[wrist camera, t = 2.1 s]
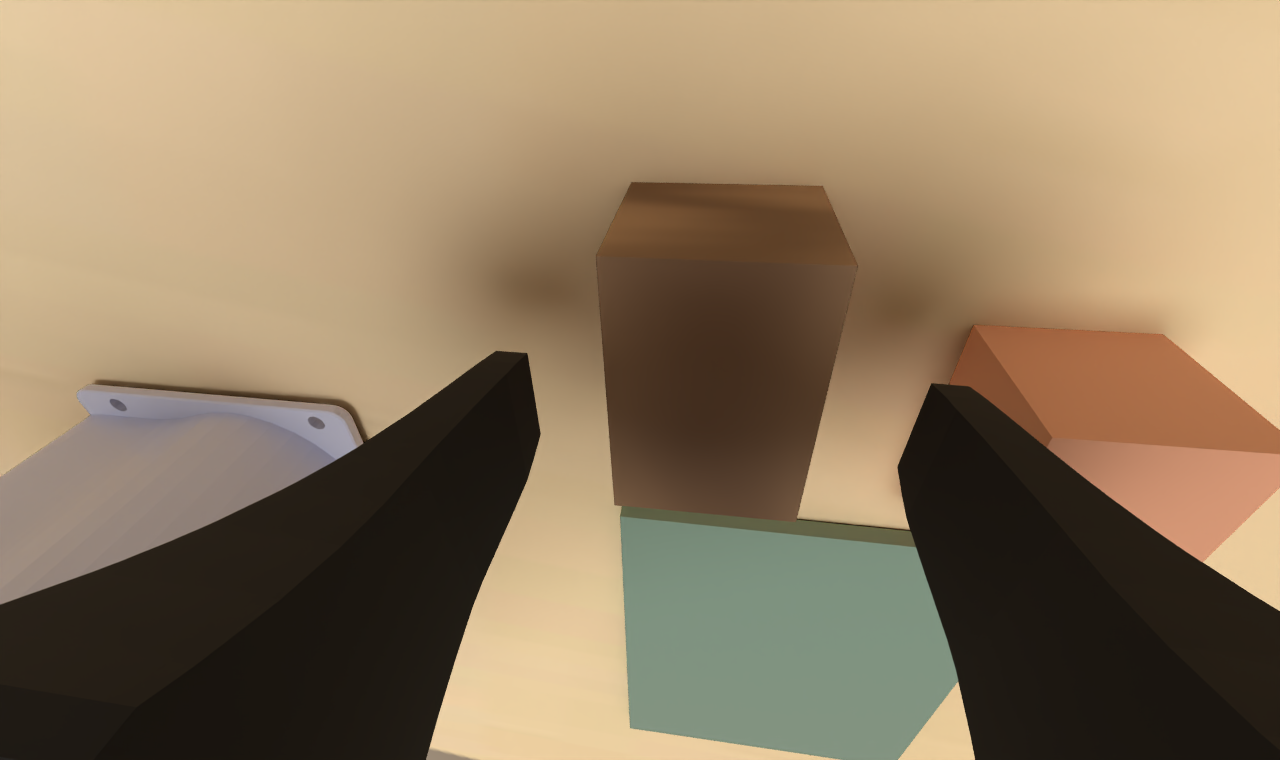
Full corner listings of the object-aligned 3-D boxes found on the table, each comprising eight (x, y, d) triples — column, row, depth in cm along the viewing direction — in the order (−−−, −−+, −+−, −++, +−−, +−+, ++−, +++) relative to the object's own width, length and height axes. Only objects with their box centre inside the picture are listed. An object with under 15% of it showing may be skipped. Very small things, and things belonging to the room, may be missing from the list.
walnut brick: (638, 395, 15) (614, 505, 12) (632, 180, 12) (595, 256, 8) (782, 405, 15) (796, 522, 12) (822, 184, 11) (858, 265, 8)
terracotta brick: (901, 493, 16) (942, 618, 13) (971, 322, 13) (1052, 437, 9) (1044, 505, 16) (1123, 639, 13) (1159, 331, 12) (1311, 457, 9)
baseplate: (631, 715, 28) (630, 728, 28) (623, 502, 18) (620, 516, 17) (889, 753, 27) (892, 767, 26) (1040, 544, 16) (1050, 561, 16)
